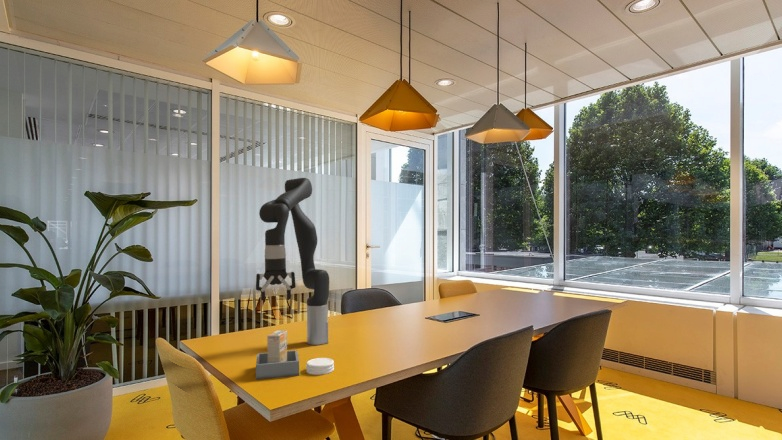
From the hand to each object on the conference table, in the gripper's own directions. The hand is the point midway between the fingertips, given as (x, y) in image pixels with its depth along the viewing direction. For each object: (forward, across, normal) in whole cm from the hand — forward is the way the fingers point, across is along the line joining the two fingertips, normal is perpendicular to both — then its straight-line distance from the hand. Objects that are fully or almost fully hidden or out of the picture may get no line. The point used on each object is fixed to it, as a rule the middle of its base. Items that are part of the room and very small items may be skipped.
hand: (276, 300), depth 162 cm
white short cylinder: (+26, -15, +8) cm, 31 cm away
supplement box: (+24, 0, +3) cm, 25 cm away
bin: (+25, 0, +3) cm, 25 cm away
